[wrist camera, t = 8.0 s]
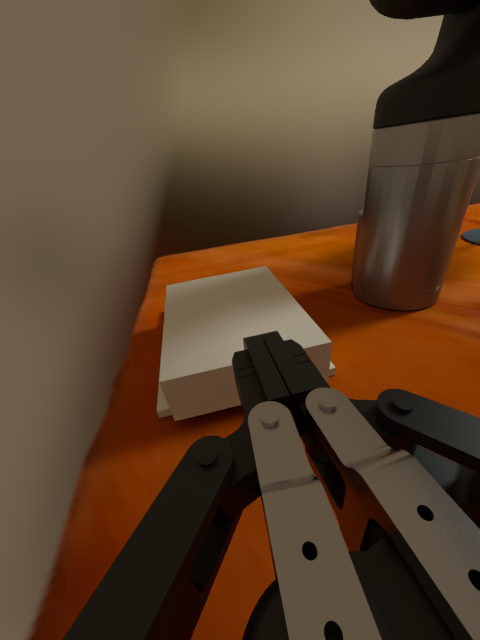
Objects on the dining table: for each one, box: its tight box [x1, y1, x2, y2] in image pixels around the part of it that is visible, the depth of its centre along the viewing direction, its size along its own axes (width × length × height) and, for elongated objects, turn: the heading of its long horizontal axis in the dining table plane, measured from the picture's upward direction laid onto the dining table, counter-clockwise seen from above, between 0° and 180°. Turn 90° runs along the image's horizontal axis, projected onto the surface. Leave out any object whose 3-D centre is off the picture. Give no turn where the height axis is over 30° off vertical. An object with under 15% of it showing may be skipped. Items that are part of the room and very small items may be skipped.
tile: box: [159, 266, 332, 421], centre depth 26 cm, size 4×12×16 cm
